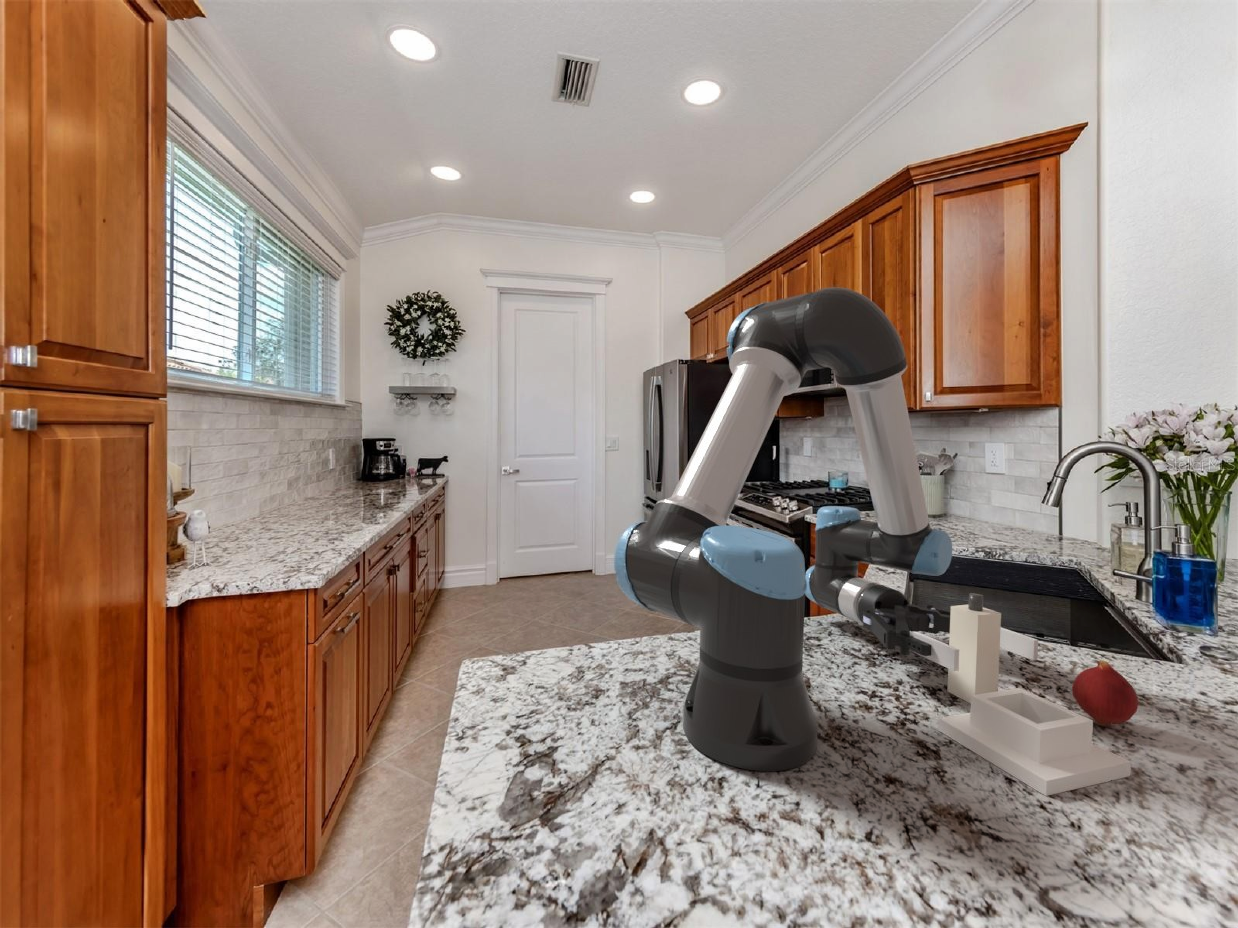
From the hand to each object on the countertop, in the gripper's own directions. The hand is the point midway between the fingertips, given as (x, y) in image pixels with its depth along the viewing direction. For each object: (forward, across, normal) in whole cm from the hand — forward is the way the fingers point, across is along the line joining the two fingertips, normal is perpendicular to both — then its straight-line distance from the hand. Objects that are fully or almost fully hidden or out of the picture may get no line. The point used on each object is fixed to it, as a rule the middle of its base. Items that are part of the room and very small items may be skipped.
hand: (997, 655), depth 67 cm
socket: (+8, +6, -7) cm, 12 cm away
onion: (+7, -9, -7) cm, 13 cm away
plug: (-3, 0, -7) cm, 8 cm away
